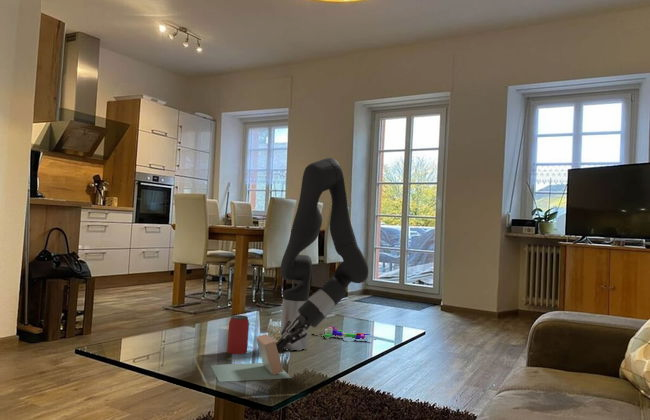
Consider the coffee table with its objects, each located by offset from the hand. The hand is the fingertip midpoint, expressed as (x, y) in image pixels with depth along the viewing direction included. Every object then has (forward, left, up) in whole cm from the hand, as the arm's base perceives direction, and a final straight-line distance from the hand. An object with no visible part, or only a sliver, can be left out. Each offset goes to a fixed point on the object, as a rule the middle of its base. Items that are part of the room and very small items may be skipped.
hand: (275, 350), depth 137 cm
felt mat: (+7, 0, -6) cm, 10 cm away
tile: (0, 0, -5) cm, 5 cm away
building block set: (-44, -45, -7) cm, 63 cm away
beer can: (+6, -23, -7) cm, 25 cm away
